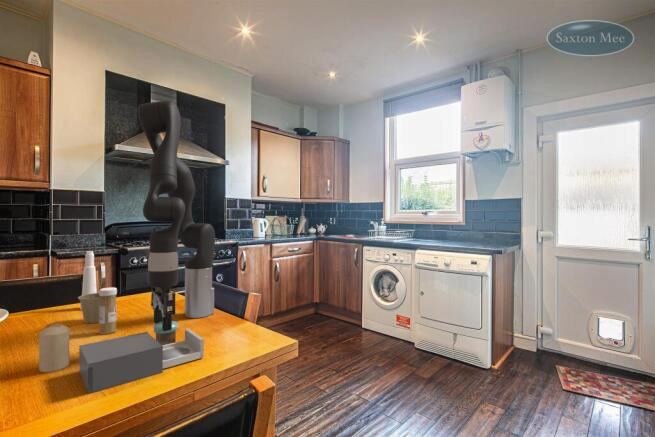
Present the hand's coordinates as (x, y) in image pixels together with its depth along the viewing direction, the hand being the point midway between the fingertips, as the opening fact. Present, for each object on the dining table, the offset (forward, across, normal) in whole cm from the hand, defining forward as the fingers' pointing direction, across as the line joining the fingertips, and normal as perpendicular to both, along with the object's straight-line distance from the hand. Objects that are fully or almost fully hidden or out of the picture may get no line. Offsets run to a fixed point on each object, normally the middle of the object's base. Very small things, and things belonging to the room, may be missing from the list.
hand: (162, 326), depth 93 cm
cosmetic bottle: (+5, +58, +10) cm, 59 cm away
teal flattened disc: (+1, 0, -1) cm, 1 cm away
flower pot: (+5, +38, +11) cm, 39 cm away
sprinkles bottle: (+5, +22, +10) cm, 24 cm away
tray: (+5, -11, +2) cm, 13 cm away
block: (+5, 0, -1) cm, 5 cm away
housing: (+5, -12, +12) cm, 17 cm away
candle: (+6, +1, +23) cm, 24 cm away
